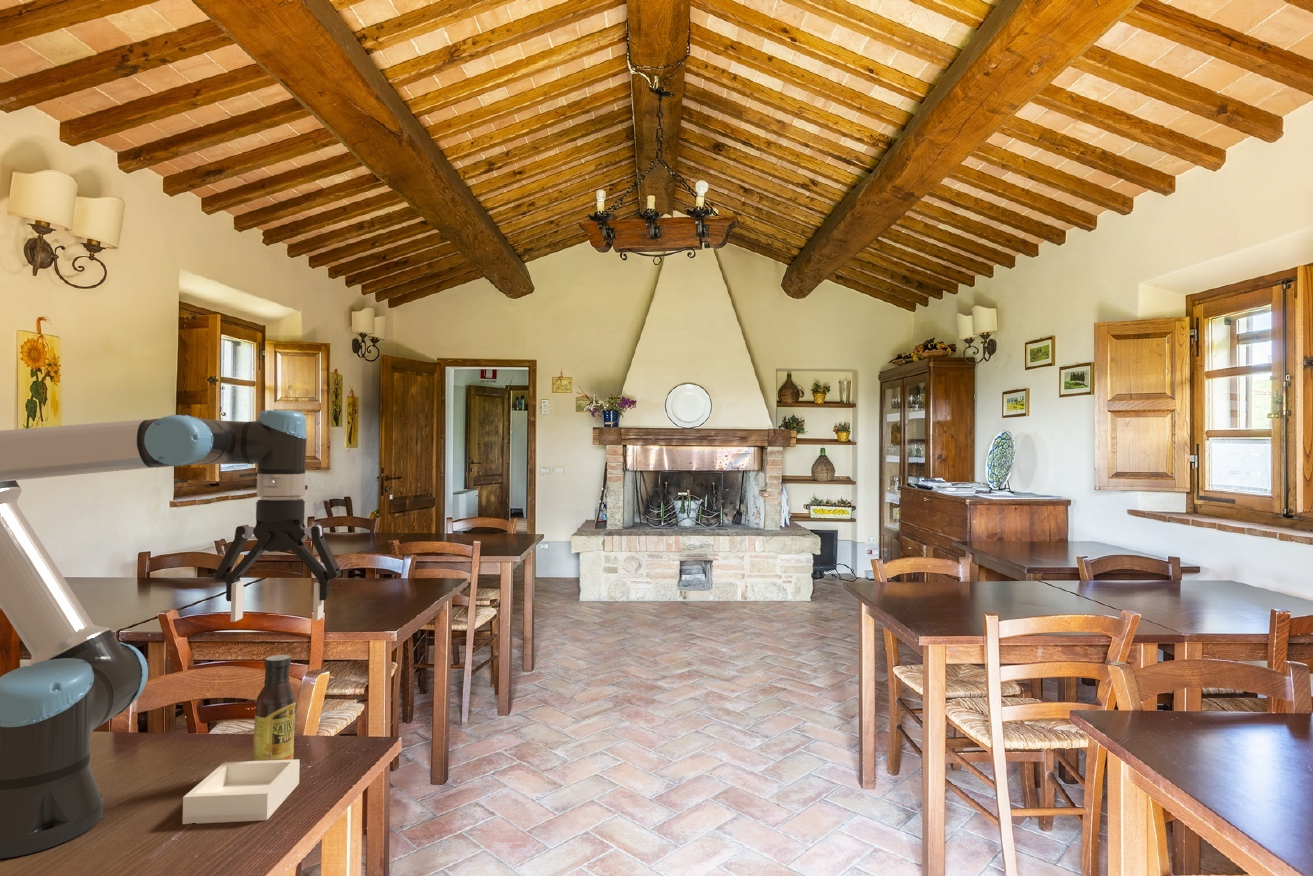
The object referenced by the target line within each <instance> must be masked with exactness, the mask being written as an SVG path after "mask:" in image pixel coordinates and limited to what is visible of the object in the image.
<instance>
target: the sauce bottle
mask: <svg viewBox="0 0 1313 876" xmlns="http://www.w3.org/2000/svg"><path fill="white" fill-rule="evenodd" d="M291 658H292V657H291V656H290V655H289V654H278V655H271V656H267V657H265V659H264V668H265V677H264V686H263V688H262V689H261V691H260V692H259V693H258V694H257V695H258V696H257V698H256V702H255V713H254V726H253V727H254V728H253V729H254V730H253V745H252V747H253V749H252V761H268V760H294V752H295V750H294V748H295V733H296V732H295V723H296V705H297V702H296V699H295V696H294V694H293V691H292V687H291V684H290V667H291V664H292V663H291V662H292V659H291Z"/></svg>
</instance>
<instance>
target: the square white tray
mask: <svg viewBox="0 0 1313 876" xmlns="http://www.w3.org/2000/svg"><path fill="white" fill-rule="evenodd" d="M300 763H301V762H300V759H297V758H296V759H294V758H293V760H268V761H253V760H248V761H247V760H246V761H224V762H223V763H222V764H221V765H219V766H218V767H217V768H215V769H214V771H212V772H211V773H210V774H208V775H207V776H206V777H205V778H204V779H203V780H202V781H200V782H199V783H198V784H196V785H195V786H194V787H193V788H192V789H191V790H190V791H189V792H187V793H186V794H185V795H184V796H182V797H183V798H182V825H192V823H196V825H197V824H213V823H215V824H216V823H217V824H218V823H232V822H233V823H234V822H235V823H236V822H237V823H238V822H239V823H240V822H256V821H257V822H258V821H262V822H263V821H268V820H269V818H270V817H271V816H272V815H273V814H274V813H275V812H276V810H277V809H278V808H279V807H280V806H281V805H282V804H283V803H284V802H285V800H286V799H287V798H288V797H289V796H290V795H291V793H292V792H293V791H294V790H295V789H296V788H297V786H298V785H299V784H300ZM190 823H191V824H190Z"/></svg>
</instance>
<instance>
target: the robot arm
mask: <svg viewBox="0 0 1313 876" xmlns="http://www.w3.org/2000/svg"><path fill="white" fill-rule="evenodd" d="M307 440H308V436H307V418H306V415H305V414H304V413H303V412H300V411H296V410H282V409H279V410H278V409H275V410H274V409H271V410H270V409H269V410H265V409H264V410H261V411H260V412H259V413H258V417H257V420H253V421H239V420H238V421H237V420H235V421H234V420H233V421H232V420H218V419H211V418H210V419H208V418H203V417H202V418H201V417H195V416H191V415H188V414H174V415H165V416H162V417H160V418H153V419H151V418H150V419H136V420H122V421H121V420H120V421H109V422H108V421H107V422H97V423H95V422H94V423H82V424H81V423H80V424H70V425H57V426H56V425H54V426H43V427H28V428H17V429H5V430H4V429H2V430H0V608H1V611H2V612H3V613H4V614H5V616H6V618H7V620H8V621H9V623H10V624H11V625H12V627H13V629H14V630H15V633H17V635H18V636H19V638H20V640H21V641H22V643H23V644H24V646H25V648H26V649H27V651H28V652H29V653H30V656H31V659H30V661H29V663H28V665H24V666H21V667H18V668H15V669H13V670H10V671H9V672H7V673H5V674H3V675H2V676H0V859H1V860H3V859H9V858H14V857H20V856H21V857H22V856H24V855H30V854H34V853H38V852H40V851H43V850H47V849H50V848H53V847H56V846H59V845H60V843H61V844H63V842H64V843H66V842H68V841H70V840H73V839H74V838H77V837H79V836H81V835H83V834H84V833H86V832H87V831H89V830H90V829H92V828H93V827H95V826H96V825H97V824H98V823H100V822H101V820H102V818H103V815H104V798H103V795H102V794H101V792H100V790H99V786H98V783H97V781H96V778H95V776H94V774H93V773H94V772H93V771H92V768H91V764H90V763H91V738H92V737H91V736H92V735H91V733H92V732H93V731H94V730H95V729H97V728H99V727H100V726H102V725H103V724H106V722H108V721H109V720H111V719H113V718H115V717H116V716H118V715H120V714H122V713H124V712H125V711H126V710H127V709H128V708H129V707H130V706H131V705H132V704H133V703H134V702H135V701H136V700H137V699H139V697H140V696H141V694H142V693H143V691H144V689H145V687H146V685H147V681H148V677H149V668H148V663H147V660H146V658H145V656H144V654H143V653H142V652H141V651H140V650H139V649H138V648H137V647H135V646H134V645H131V644H126V643H125V642H121V641H120V642H119V641H118V639H117V638H116V636H115V634H114V633H113V631H112V629H111V628H110V627H107V626H100V625H96V624H94V623H93V622H92V620H91V618H90V617H89V615H88V613H87V612H86V610H85V608H84V607H83V606H82V604H81V603H80V601H79V600H78V597H77V596H76V594H75V593H74V591H73V590H72V589H71V587H70V585H69V584H68V581H66V579H65V578H64V576H63V574H62V573H61V571H60V570H59V568H58V566H57V565H56V563H55V562H54V560H53V559H52V557H51V556H50V553H49V552H48V550H46V548H45V546H44V544H43V543H42V541H41V540H40V538H39V537H38V535H37V533H36V532H35V530H34V529H33V527H32V526H31V524H30V523H29V521H28V520H27V518H26V517H25V515H24V513H23V512H22V510H21V509H20V507H19V506H18V500H19V498H20V496H21V494H22V492H23V490H22V488H21V487H20V485H19V483H18V481H22V480H23V481H24V480H32V479H33V480H35V479H43V478H55V477H66V476H75V475H88V474H97V473H98V474H99V473H109V472H110V473H111V472H119V471H130V470H142V469H143V470H144V469H151V468H156V469H157V468H167V467H181V466H192V465H257V471H256V475H257V479H256V496H257V497H260V499H257V501H256V505H255V520H256V521H255V523H256V524H255V526H249V525H248V524H243V525H239V526H236V528H235V531H234V532H235V533H234V538H233V541H232V542H231V544H230V546H229V548H228V549H227V551H226V554H225V555H224V557H223V558H222V561H221V563H220V564H219V566H218V568H217V569H216V571H215V572H214V575H213V576H214V579H215V580H219V581H220V580H221V581H223V582H224V583H225V585H226V586H225V600H226V602H230V623H232V622H233V623H234V622H235V623H236V622H237V621H240V620H242V619H243V618H244V588H245V587H244V585H245V581H244V580H241V577H242V576H243V575H245V573H246V572H247V571H248V570H249V569H250V567H251V566H253V565H254V564H255V562H256V561H257V560H258V559H259V558H260V557H261V555H262V554H263V553H265V552H268V553H273V552H276V551H278V552H280V553H281V552H282V553H283V552H290V551H291V552H292V553H293V554H294V555H296V556H297V557H298V558H299V559H300V560H301V562H302V563H303V564H304V565H305V566H306V568H307V569H308V570H309V571H310V572H311V573H312V574H313V576H314V577H315V578H316V579H317V581H316V582H314V583H313V603H312V604H313V606H312V607H313V612H312V613H313V614H312V621H314V622H315V621H316V622H317V621H319V620H321V619H323V618H324V602H325V601H327V600H329V598H330V588H331V587H330V586H331V585H330V582H331V580H333V579H336V578H338V577H340V576H341V575H342V571H341V568H340V566H339V564H338V562H337V561H336V558H335V557H334V555H333V551H331V548H330V546H329V544H328V541H327V540H326V539H325V534H324V533H325V532H324V526H323V525H321V524H317V525H314V526H306V525H305V511H306V510H305V509H306V508H305V505H306V501H305V500H304V499H302V497H304V496H305V495H306V460H307V459H306V457H307V456H306V455H307V454H306V453H307V443H308V442H307ZM252 535H254V538H256V540H257V542H256V543H255V544H254V545H253V546H252V548H250V551H249V552H248V553H247V554H245V556H244V557H243V558H242V559H241V560H240V562H239V563H238V564H237V565H236V566H235V563H236V562H237V560H238V558H239V556H240V554H241V553H242V551H243V550H244V547H245V545H246V544H247V542H248V539H250V538H252ZM306 535H307V536H308V538H309V539H310V540H311V541H312V544H313V546H314V548H315V549H316V552H317V554H318V556H319V558H320V560H321V562H322V563H321V562H320V561H319V560H318V559H317V558H316V557H315V555H314V554H313V552H311V551H310V549H309V548H308V545H307V544H306V543H305V542H304V541H303V538H305V536H306ZM322 564H323V565H322ZM234 566H235V567H234Z"/></svg>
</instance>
